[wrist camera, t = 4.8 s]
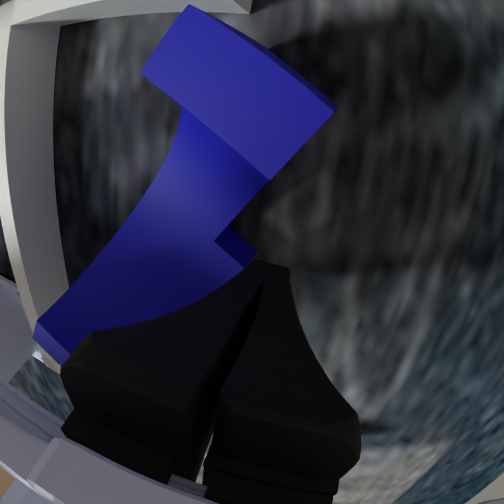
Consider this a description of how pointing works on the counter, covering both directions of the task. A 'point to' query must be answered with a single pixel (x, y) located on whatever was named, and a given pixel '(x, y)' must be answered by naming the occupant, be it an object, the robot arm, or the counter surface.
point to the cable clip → (193, 181)
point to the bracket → (46, 134)
